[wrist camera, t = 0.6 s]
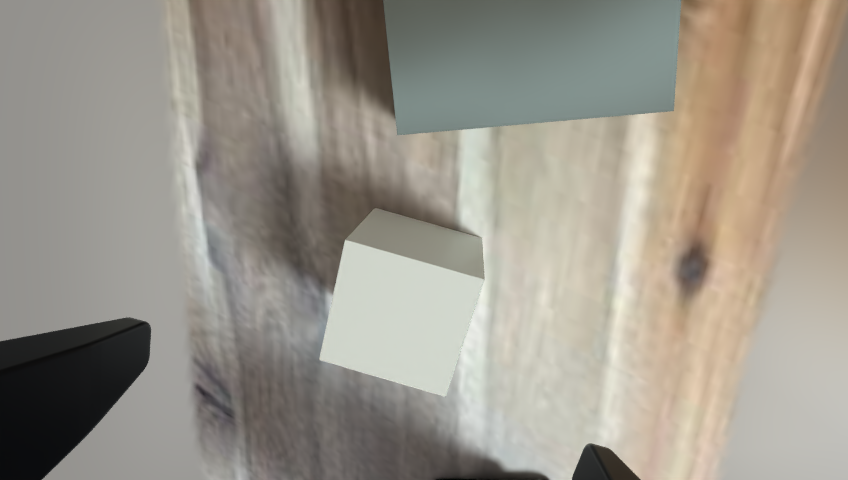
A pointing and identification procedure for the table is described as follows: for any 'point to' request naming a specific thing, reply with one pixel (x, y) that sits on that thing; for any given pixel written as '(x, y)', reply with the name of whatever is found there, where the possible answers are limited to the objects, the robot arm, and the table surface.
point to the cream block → (404, 300)
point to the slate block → (528, 60)
